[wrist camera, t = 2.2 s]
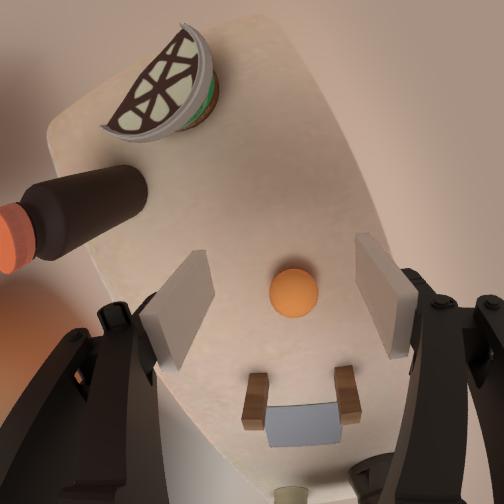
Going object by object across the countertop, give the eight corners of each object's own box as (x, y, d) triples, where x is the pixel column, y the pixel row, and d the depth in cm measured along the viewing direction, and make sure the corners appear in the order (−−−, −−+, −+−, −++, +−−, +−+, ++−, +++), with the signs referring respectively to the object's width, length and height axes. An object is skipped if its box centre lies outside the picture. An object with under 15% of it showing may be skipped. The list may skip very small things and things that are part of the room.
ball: (317, 300, 35) (321, 325, 30) (273, 304, 36) (270, 329, 31) (314, 259, 33) (319, 279, 28) (267, 263, 34) (264, 284, 29)
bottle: (132, 154, 31) (-3, 177, 12) (157, 201, 33) (36, 266, 14) (96, 182, 33) (-29, 225, 14) (119, 226, 35) (5, 297, 16)
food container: (181, 164, 31) (140, 172, 22) (145, 132, 30) (95, 131, 21) (254, 81, 27) (239, 53, 18) (213, 52, 26) (184, 18, 17)
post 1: (269, 384, 41) (264, 430, 32) (252, 385, 41) (244, 430, 33) (267, 372, 40) (261, 419, 32) (249, 373, 40) (241, 419, 32)
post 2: (350, 377, 39) (359, 422, 30) (334, 379, 39) (340, 425, 31) (351, 365, 38) (361, 411, 30) (334, 367, 38) (341, 414, 30)
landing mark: (339, 442, 45) (339, 442, 45) (269, 446, 48) (269, 447, 47) (344, 400, 41) (345, 401, 41) (260, 406, 43) (260, 407, 43)
